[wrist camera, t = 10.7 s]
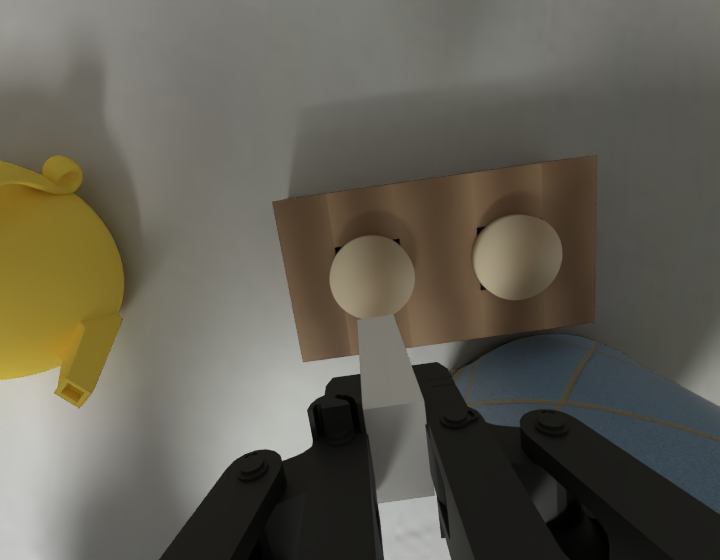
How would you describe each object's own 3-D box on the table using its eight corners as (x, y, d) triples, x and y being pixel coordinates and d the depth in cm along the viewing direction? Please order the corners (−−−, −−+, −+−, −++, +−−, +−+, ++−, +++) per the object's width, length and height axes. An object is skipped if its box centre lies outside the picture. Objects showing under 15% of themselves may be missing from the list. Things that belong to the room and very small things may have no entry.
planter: (651, 297, 34) (1250, 522, 11) (648, 501, 40) (1048, 929, 17) (403, 340, 35) (499, 636, 12) (434, 535, 40) (541, 993, 17)
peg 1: (339, 295, 33) (336, 325, 26) (329, 230, 32) (323, 243, 25) (405, 286, 33) (418, 313, 26) (397, 221, 32) (410, 231, 25)
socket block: (311, 332, 34) (303, 362, 28) (287, 198, 31) (272, 201, 26) (552, 299, 34) (594, 322, 28) (550, 161, 31) (596, 155, 25)
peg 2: (452, 280, 33) (479, 305, 26) (447, 214, 32) (473, 222, 25) (518, 271, 33) (562, 294, 26) (515, 204, 32) (562, 209, 25)
